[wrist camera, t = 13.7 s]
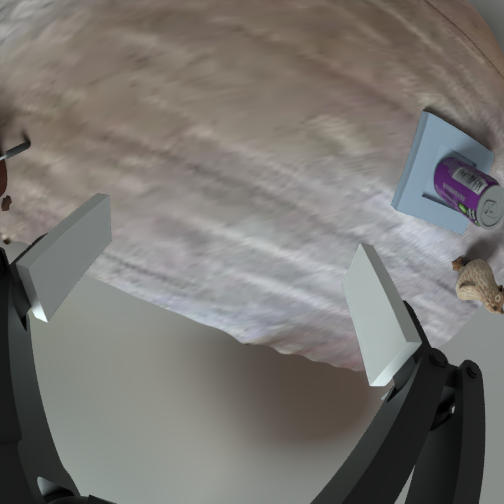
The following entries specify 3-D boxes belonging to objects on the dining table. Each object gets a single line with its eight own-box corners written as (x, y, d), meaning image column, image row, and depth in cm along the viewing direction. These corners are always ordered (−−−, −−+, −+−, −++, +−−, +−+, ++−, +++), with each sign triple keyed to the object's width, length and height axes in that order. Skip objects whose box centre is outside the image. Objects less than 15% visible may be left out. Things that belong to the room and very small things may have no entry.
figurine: (484, 250, 42) (523, 295, 29) (464, 287, 47) (496, 335, 34) (458, 242, 42) (500, 291, 29) (437, 283, 47) (470, 336, 34)
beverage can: (428, 197, 37) (470, 233, 27) (432, 154, 33) (481, 180, 23) (460, 198, 36) (502, 232, 26) (465, 157, 32) (513, 183, 22)
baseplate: (422, 111, 31) (429, 112, 29) (487, 150, 32) (494, 154, 30) (390, 204, 39) (396, 210, 37) (456, 229, 40) (462, 234, 38)
